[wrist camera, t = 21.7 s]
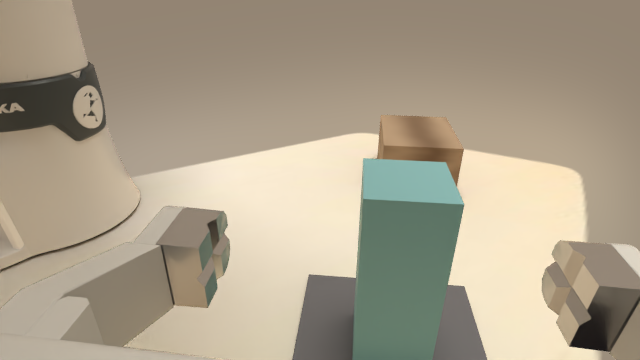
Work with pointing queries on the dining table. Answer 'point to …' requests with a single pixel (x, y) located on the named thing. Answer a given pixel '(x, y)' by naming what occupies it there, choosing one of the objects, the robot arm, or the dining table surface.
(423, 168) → the tall teal pillar
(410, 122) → the block
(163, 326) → the dining table surface
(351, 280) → the mat
